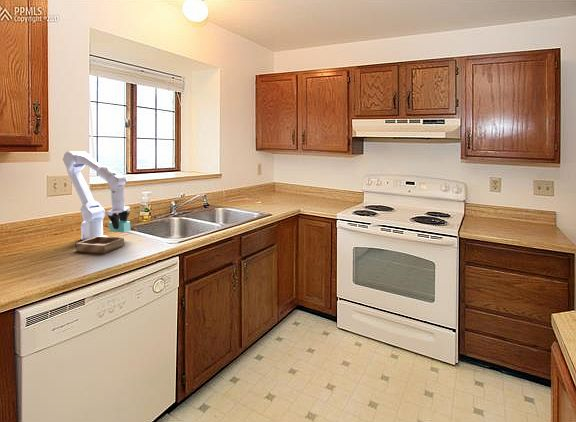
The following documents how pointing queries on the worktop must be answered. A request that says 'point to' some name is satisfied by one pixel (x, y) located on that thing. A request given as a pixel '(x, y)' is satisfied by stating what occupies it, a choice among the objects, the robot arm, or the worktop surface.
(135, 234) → the worktop surface
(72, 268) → the worktop surface
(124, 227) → the teal crate
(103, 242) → the tray
